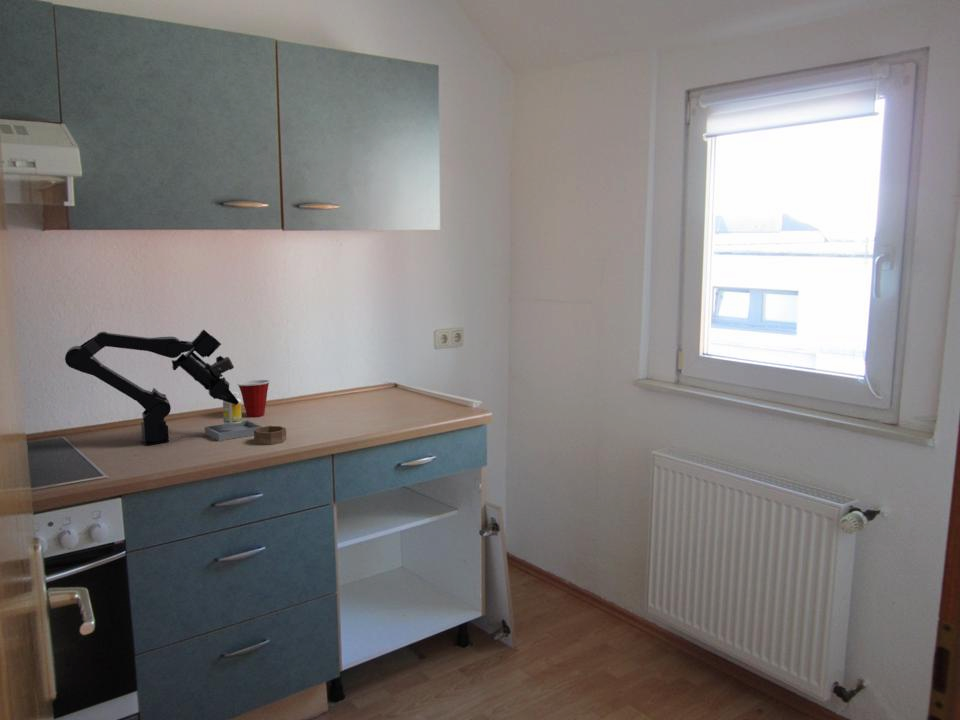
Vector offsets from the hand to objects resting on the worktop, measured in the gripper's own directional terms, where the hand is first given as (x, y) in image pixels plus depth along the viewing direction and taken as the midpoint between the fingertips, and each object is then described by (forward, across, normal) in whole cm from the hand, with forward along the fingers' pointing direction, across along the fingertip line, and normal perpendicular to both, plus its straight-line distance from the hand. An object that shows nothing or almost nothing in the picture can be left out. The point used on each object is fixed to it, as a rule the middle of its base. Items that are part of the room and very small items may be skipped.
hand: (236, 401), depth 237 cm
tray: (+6, 0, +8) cm, 10 cm away
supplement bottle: (+4, 0, +6) cm, 7 cm away
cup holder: (+12, -13, +2) cm, 18 cm away
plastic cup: (+14, +24, +1) cm, 27 cm away
